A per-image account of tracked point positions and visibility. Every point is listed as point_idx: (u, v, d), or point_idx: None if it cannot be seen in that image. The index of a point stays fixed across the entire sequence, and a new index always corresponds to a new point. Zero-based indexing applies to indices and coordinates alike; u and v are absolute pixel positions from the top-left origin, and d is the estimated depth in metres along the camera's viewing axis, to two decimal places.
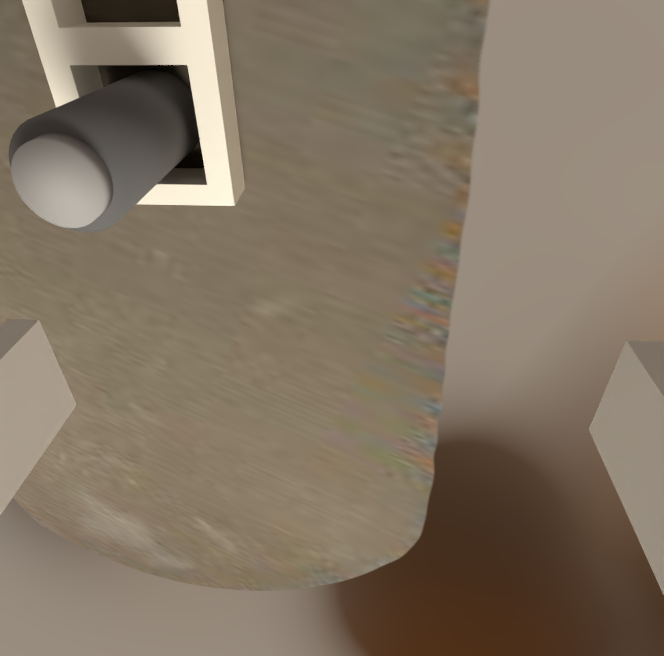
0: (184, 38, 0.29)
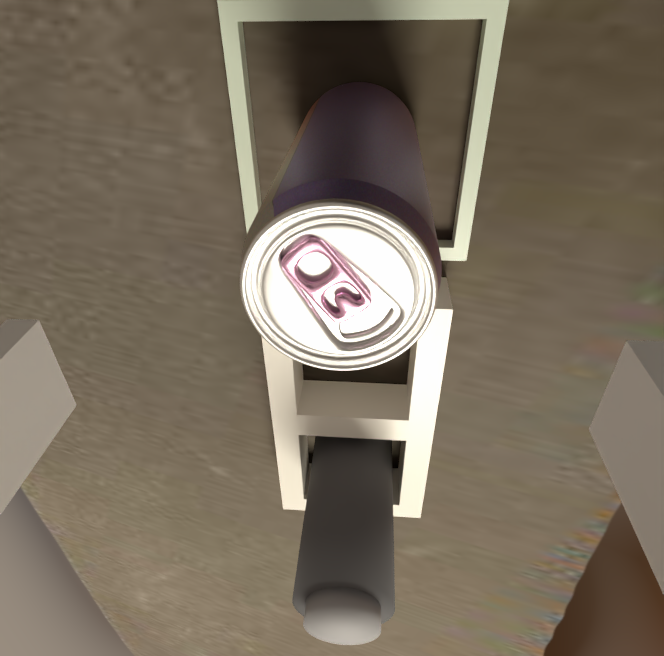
0: (409, 427, 0.33)
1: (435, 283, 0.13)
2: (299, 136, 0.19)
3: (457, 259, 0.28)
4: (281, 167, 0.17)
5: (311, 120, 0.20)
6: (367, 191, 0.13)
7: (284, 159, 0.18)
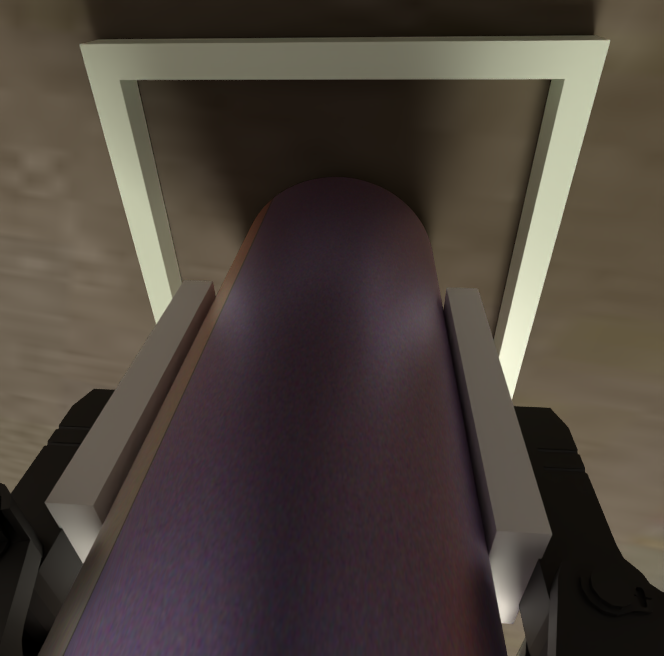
0: None
1: None
2: (206, 330, 0.09)
3: None
4: (140, 454, 0.07)
5: (238, 283, 0.10)
6: None
7: (167, 394, 0.09)
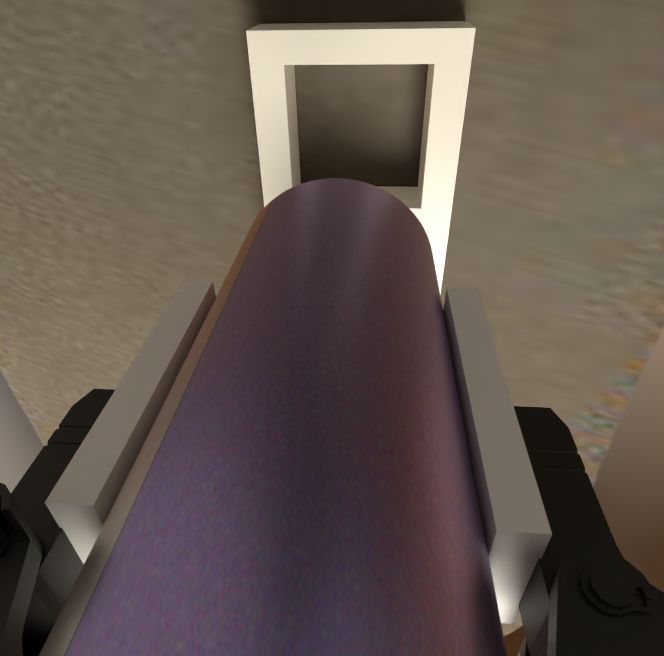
0: (421, 218, 0.29)
1: None
2: (206, 333, 0.09)
3: None
4: (140, 457, 0.07)
5: (237, 285, 0.10)
6: None
7: (167, 397, 0.09)
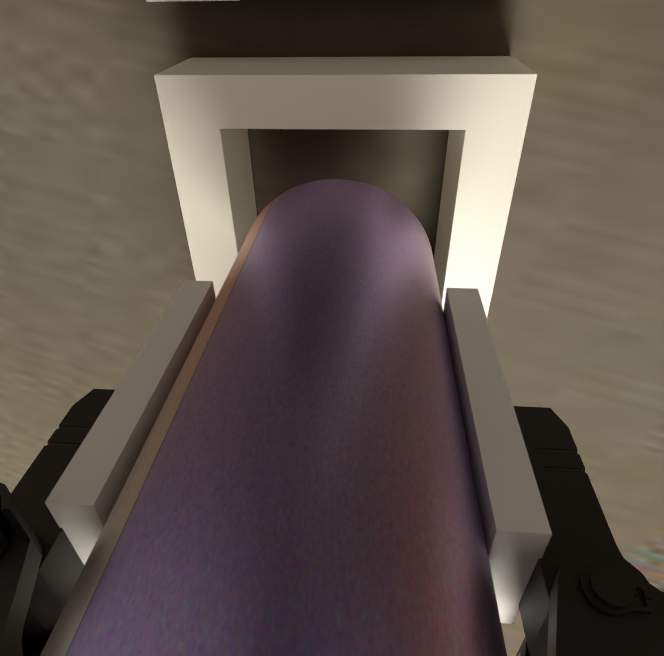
0: None
1: None
2: (206, 333, 0.09)
3: None
4: (140, 457, 0.07)
5: (238, 285, 0.10)
6: None
7: (167, 397, 0.09)
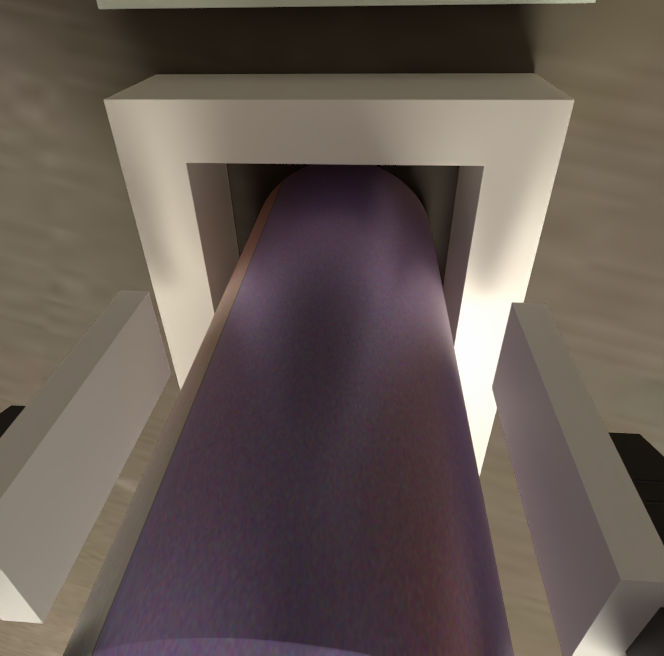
0: None
1: None
2: (230, 297, 0.11)
3: None
4: (181, 398, 0.09)
5: (256, 255, 0.11)
6: None
7: (198, 352, 0.10)
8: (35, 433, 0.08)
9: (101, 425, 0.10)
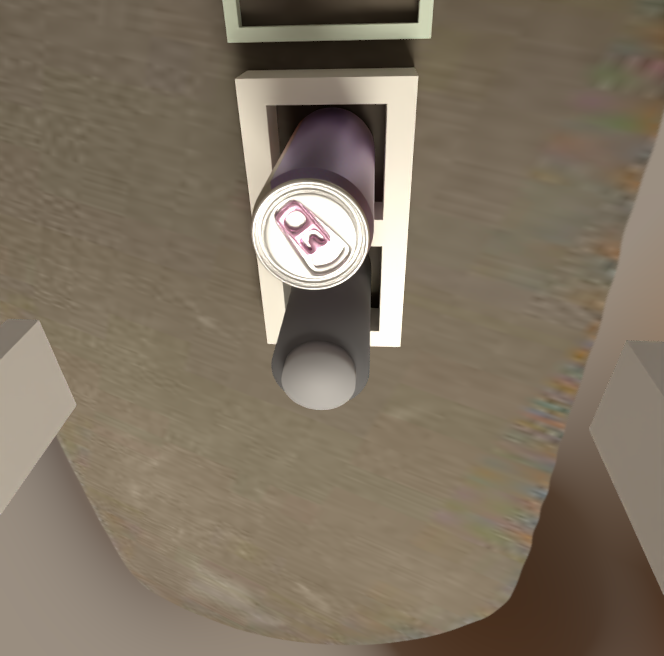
0: (384, 228, 0.35)
1: (367, 228, 0.23)
2: (288, 145, 0.29)
3: (422, 37, 0.30)
4: (276, 164, 0.26)
5: (296, 134, 0.29)
6: (325, 174, 0.22)
7: (278, 160, 0.28)
8: None
9: None
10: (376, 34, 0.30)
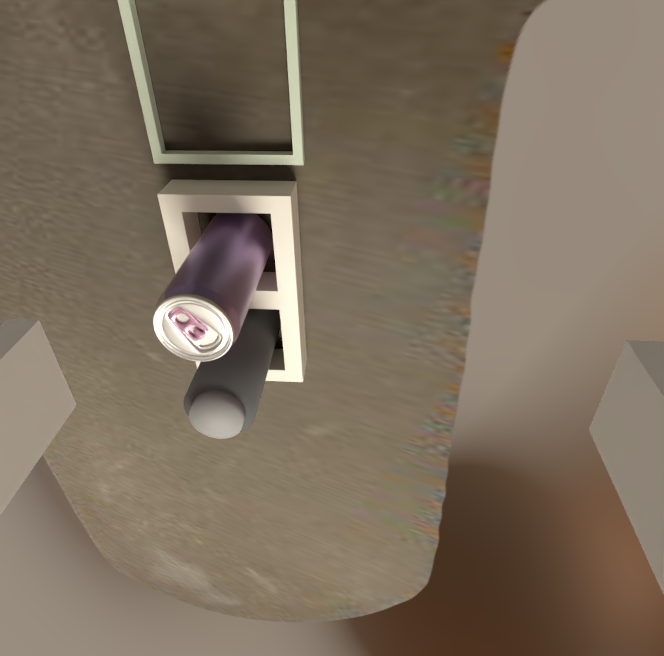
0: (279, 297, 0.45)
1: (230, 325, 0.33)
2: (193, 248, 0.39)
3: (297, 164, 0.41)
4: (179, 268, 0.37)
5: (201, 237, 0.40)
6: (200, 290, 0.33)
7: None
8: None
9: None
10: (263, 161, 0.41)
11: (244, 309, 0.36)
